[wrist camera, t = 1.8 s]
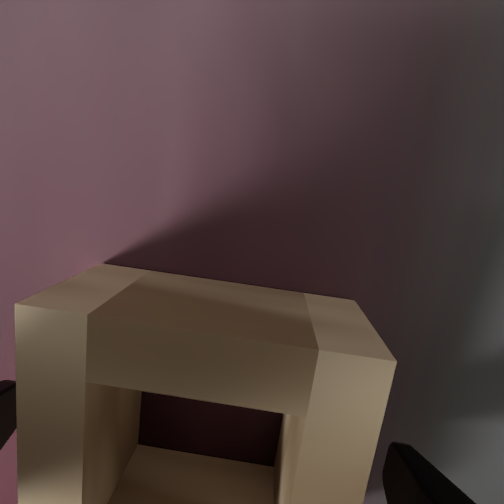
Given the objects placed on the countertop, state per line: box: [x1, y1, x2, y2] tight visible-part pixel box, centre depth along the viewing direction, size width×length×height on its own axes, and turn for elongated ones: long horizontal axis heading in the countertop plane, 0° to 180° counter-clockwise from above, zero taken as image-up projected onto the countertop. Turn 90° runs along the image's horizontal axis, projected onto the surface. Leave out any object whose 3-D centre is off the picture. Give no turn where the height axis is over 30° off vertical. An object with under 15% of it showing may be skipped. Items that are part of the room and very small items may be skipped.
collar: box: [15, 263, 397, 504], centre depth 8 cm, size 7×7×3 cm
